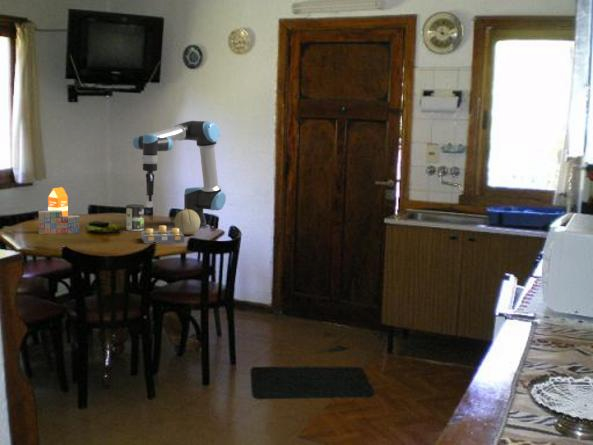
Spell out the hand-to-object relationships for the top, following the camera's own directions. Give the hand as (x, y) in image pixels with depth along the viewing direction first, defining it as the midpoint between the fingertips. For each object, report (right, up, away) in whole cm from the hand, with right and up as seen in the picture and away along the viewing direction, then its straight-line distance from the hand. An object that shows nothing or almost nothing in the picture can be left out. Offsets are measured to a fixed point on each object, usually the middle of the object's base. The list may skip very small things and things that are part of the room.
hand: (149, 207), depth 381 cm
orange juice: (-67, -7, +54) cm, 87 cm away
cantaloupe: (+16, -15, +25) cm, 34 cm away
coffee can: (-16, -12, +35) cm, 40 cm away
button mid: (+6, -15, +5) cm, 17 cm away
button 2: (+13, -16, +7) cm, 22 cm away
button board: (+6, -18, +5) cm, 20 cm away
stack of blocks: (-54, -14, +16) cm, 58 cm away
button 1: (-1, -17, +3) cm, 17 cm away
